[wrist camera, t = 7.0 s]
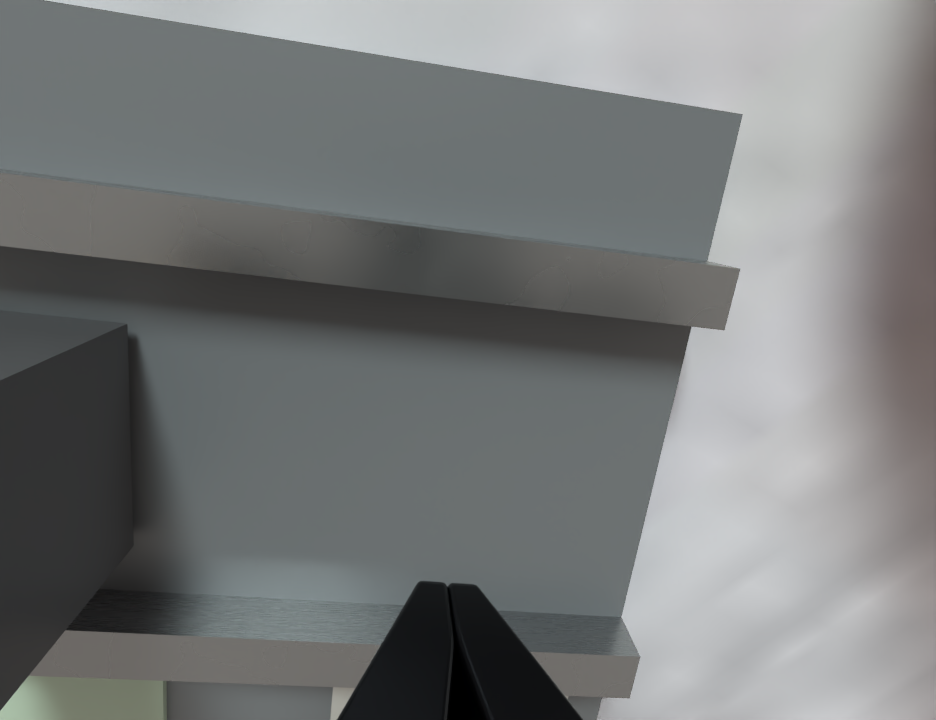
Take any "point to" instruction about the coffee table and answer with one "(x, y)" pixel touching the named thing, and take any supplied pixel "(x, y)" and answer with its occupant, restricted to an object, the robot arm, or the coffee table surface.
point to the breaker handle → (59, 477)
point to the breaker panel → (351, 347)
